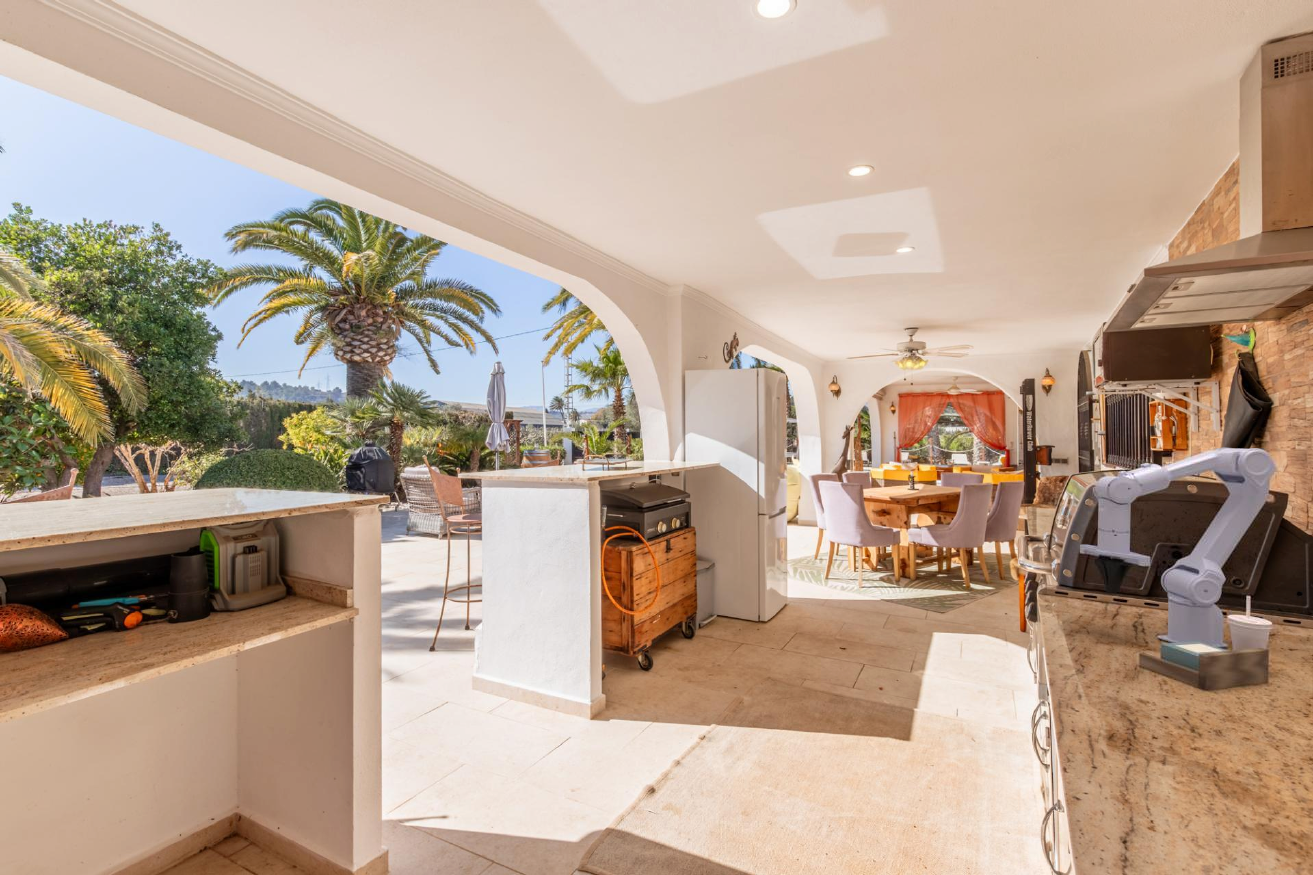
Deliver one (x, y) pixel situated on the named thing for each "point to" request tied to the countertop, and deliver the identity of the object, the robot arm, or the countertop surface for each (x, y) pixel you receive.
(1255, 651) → the display stand
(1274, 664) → the countertop surface
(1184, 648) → the carton
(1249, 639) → the smoothie
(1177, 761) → the countertop surface
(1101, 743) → the countertop surface
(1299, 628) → the countertop surface
